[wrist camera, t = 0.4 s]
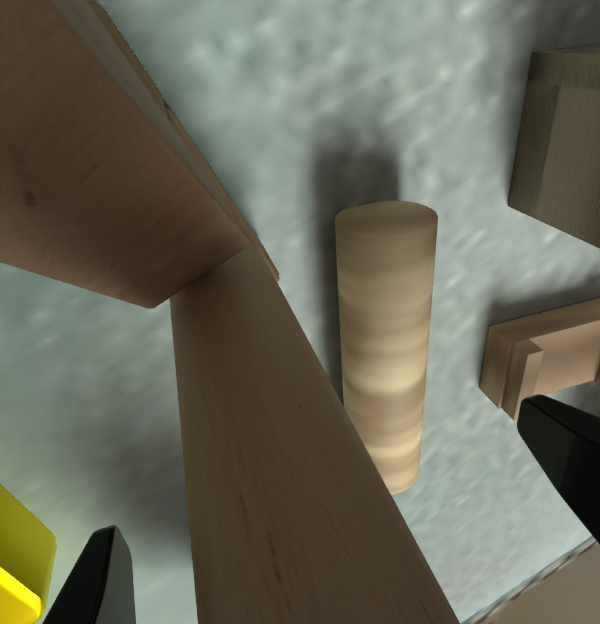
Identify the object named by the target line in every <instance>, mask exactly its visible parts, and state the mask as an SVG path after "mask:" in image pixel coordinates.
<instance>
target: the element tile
mask: <svg viewBox="0 0 600 624" xmlns="http://www.w3.org/2000/svg"><path fill="white" fill-rule="evenodd" d="M56 547H57V545H56V540H55V537H54V535H53V533H52V532H51V531H50V530H49V529H48V528H46V527H45V526H44V525H43V524H42V523H41V522H40V521H39V520H38V519H37V518H36V517H35V516H34V515H33V514H32V513H31V512H29V511H28V510H27V509H26V508H25V507H24V506H23V505H22V504H21V503H20V502H19V501H18V500H17V499H16V498H15V497H14V496H12V495H11V494H10V493H9V492H8V491H7V490H6V489H5V488H4V487H3V486H2V485H1V484H0V624H34V623H36V622H37V621H38V620H39V619H40V618H41V616H42V614H43V612H44V610H45V608H46V603H47V597H48V592H49V586H50V580H51V575H52V569H53V564H54V558H55V553H56Z"/></svg>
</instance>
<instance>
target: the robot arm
mask: <svg viewBox="0 0 600 624" xmlns="http://www.w3.org/2000/svg"><path fill="white" fill-rule="evenodd" d="M517 429H518V432H519V434H520V436H521V437H522V439H523V440H524V442H525V443H526V445H527V446H528V448H529V449H530V451H531V452H532V454H533V456H534V457H535V459H536V460H537V462H538V463H539V465H540V466H541V468H542V469H543V471H544V472H545V474H546V475H547V477H548V478H549V480H550V481H551V483H552V484H553V486H554V487H555V488H556V490H557V491H558V493H559V494H560V495H561V497H562V498H563V499H564V501H565V502H566V503H567V504H568V506H569V507H570V508H571V509H572V511H573V512H574V513H575V514H576V516H577V517H578V518H579V519H580V520H581V522H582V523H583V524H584V525H585V527H586V528H587V529H588V530H589V532H590V533H591V534H592V535H593V537H594V538H595V539H596V540H597V542H598V543H599V544H600V418H599V417H597V416H594V415H592V414H589V413H587V412H584V411H582V410H579V409H577V408H574V407H572V406H569V405H567V404H564V403H562V402H559V401H557V400H554V399H552V398H549V397H547V396H544V395H540V394H537V395H533V396H530V397H526V398H524V399H523V400H522V401H521V403H520V409H519V414H518V420H517ZM42 624H136V617H135V602H134V587H133V571H132V559H131V553H130V550H129V548H128V546H127V544H126V542H125V540H124V538H123V536H122V534H121V532H120V530H119V528H118V527H117V526H115V525H112V526H109V527H106V528H103V529H99V530H97V531H95V532H94V533H93V534H92V535H91V537H90V539H89V540H88V542H87V544H86V546H85V548H84V549H83V551H82V553H81V555H80V557H79V558H78V560H77V562H76V564H75V566H74V567H73V569H72V571H71V573H70V575H69V576H68V578H67V580H66V582H65V584H64V586H63V587H62V589H61V591H60V593H59V595H58V596H57V598H56V600H55V602H54V604H53V605H52V607H51V609H50V611H49V613H48V614H47V616H46V618H45V620H44V622H43V623H42Z"/></svg>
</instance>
